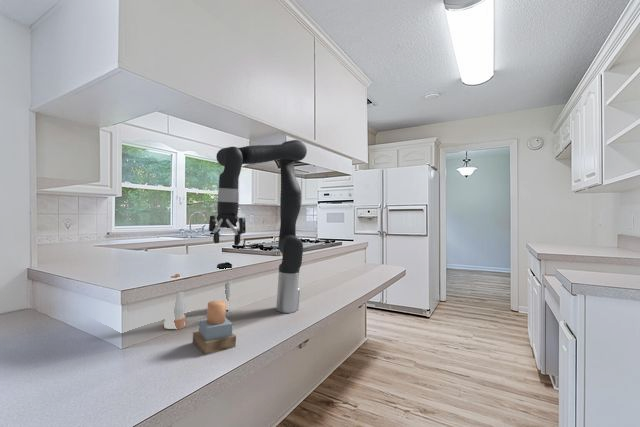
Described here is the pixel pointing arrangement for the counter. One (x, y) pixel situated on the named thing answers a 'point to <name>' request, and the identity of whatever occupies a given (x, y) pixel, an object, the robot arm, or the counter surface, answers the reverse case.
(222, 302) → the terracotta drum
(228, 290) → the travel mug
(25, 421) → the counter surface
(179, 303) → the salt shaker
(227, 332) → the slate top block
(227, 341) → the walnut base block
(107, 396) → the counter surface
